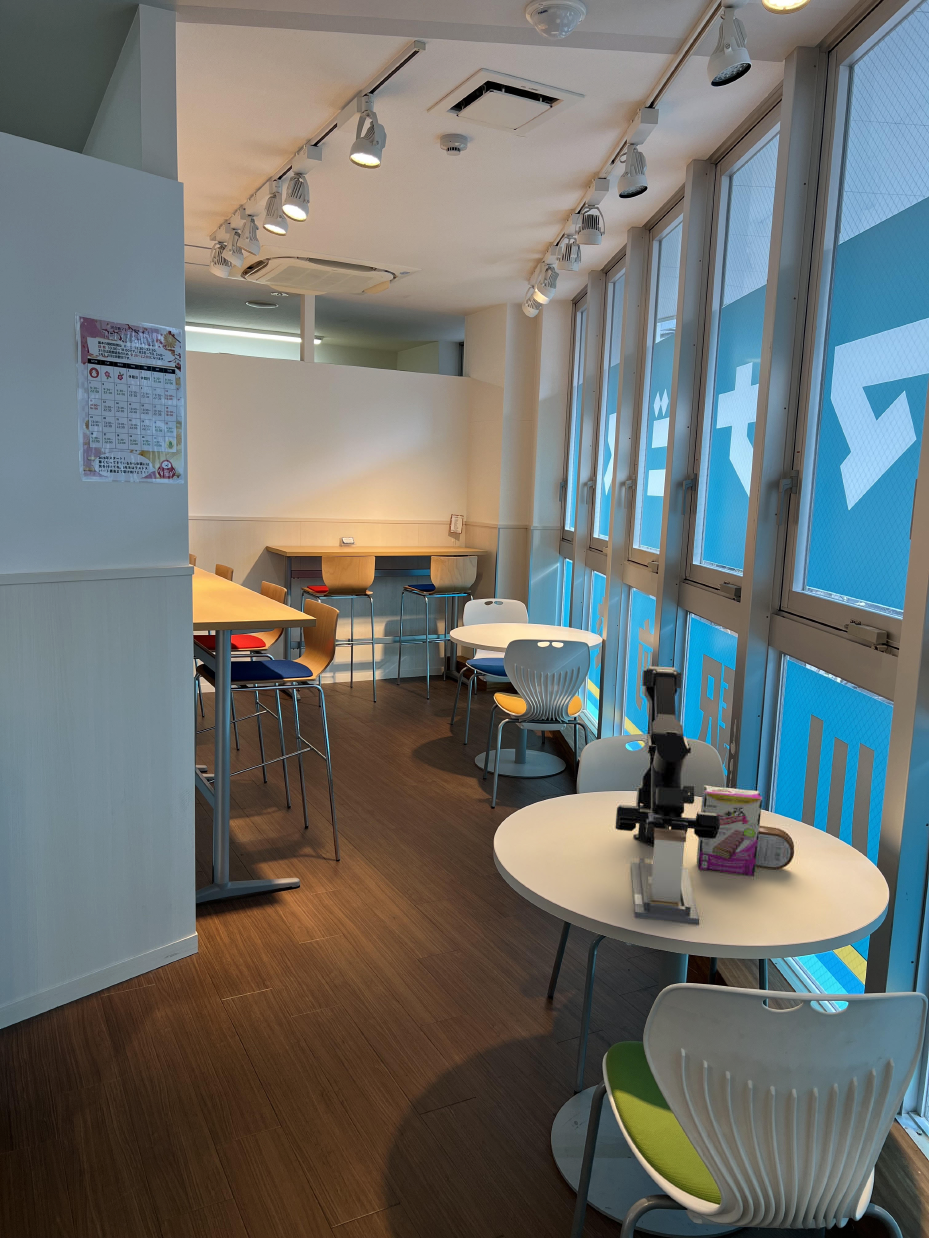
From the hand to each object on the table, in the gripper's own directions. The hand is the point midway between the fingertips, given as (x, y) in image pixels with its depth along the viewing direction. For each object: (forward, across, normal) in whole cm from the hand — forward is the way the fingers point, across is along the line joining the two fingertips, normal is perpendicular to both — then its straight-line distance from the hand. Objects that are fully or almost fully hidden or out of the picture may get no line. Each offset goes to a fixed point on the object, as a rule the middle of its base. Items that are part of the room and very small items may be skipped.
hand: (666, 864), depth 156 cm
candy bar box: (-8, +14, +18) cm, 24 cm away
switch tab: (+5, 0, +3) cm, 6 cm away
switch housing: (+2, 0, +8) cm, 8 cm away
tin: (-10, +20, +21) cm, 30 cm away
